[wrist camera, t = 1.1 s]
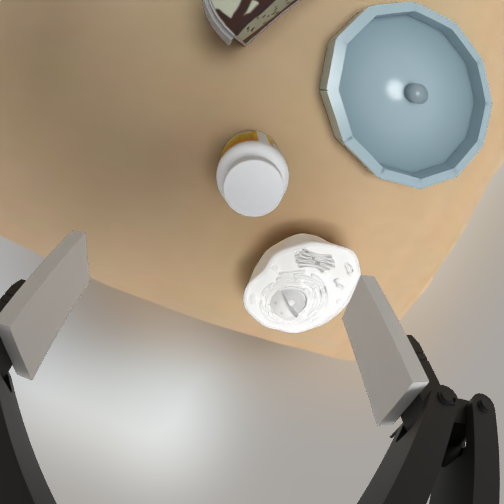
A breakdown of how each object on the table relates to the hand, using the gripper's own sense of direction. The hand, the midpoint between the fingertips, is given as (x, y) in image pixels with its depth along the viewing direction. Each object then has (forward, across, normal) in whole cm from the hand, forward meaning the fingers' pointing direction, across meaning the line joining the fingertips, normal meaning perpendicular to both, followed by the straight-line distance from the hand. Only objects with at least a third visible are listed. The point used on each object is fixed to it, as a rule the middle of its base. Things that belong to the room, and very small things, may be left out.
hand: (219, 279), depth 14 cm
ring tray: (+17, +15, +12) cm, 26 cm away
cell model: (+18, +8, -9) cm, 21 cm away
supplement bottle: (+18, +1, +2) cm, 18 cm away
